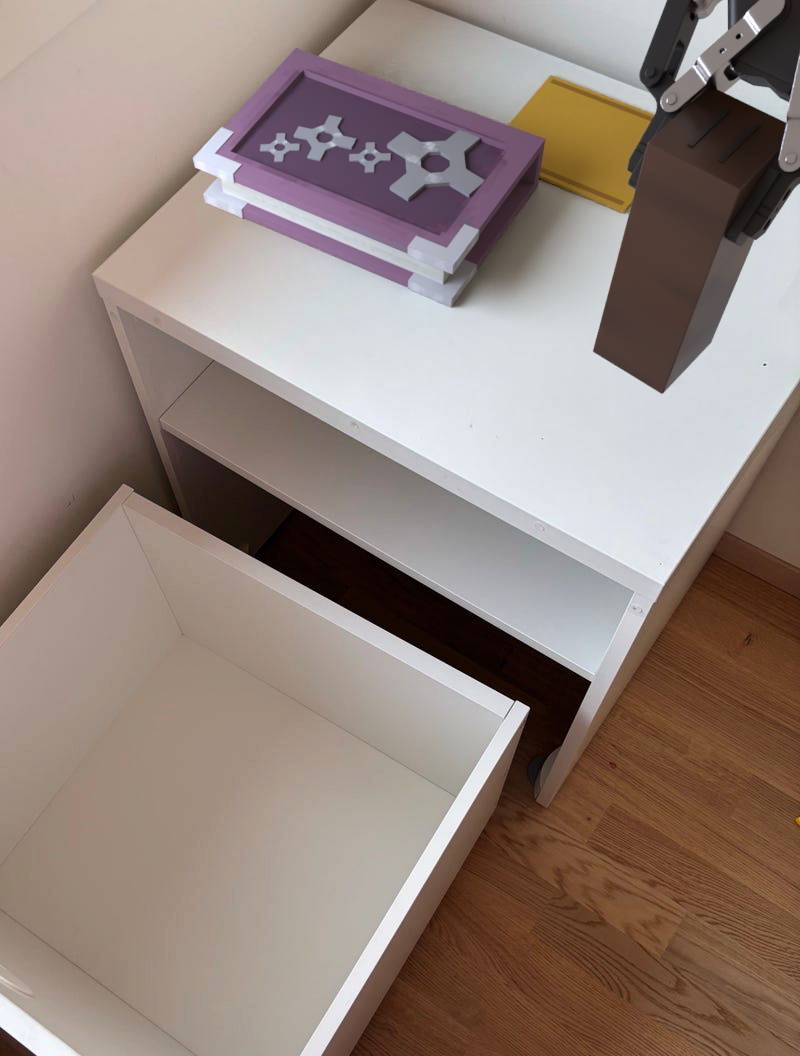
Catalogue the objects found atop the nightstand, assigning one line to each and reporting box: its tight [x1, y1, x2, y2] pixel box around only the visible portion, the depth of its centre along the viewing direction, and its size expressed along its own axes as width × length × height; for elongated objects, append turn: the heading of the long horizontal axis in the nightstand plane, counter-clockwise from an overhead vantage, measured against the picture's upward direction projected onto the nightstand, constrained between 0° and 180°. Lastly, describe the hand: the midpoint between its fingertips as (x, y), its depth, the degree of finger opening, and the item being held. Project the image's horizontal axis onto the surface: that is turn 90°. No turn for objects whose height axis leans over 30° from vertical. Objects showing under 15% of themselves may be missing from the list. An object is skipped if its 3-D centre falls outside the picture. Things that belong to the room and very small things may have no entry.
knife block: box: [592, 86, 787, 395], centre depth 58 cm, size 6×6×16 cm
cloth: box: [508, 74, 655, 214], centre depth 90 cm, size 14×12×1 cm
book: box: [192, 47, 545, 308], centre depth 87 cm, size 25×16×5 cm, turn 58°
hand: (685, 214), depth 54 cm, fingers closed on knife block, 5 cm apart
